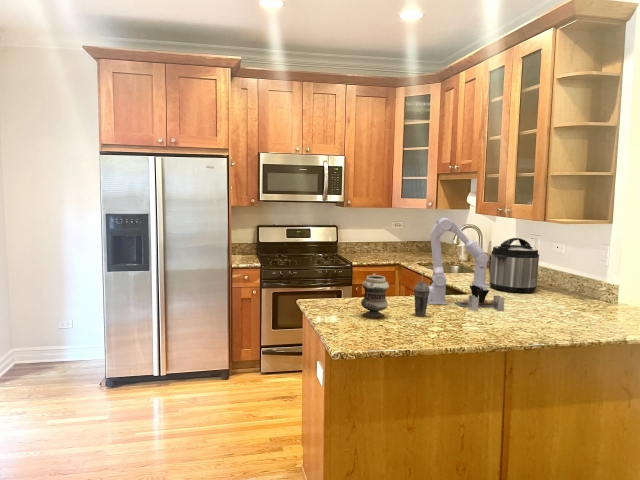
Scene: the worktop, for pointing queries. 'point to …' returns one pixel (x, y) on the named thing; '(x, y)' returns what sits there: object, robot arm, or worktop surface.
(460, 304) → the mat
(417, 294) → the beverage cup
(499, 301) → the hook stands
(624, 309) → the worktop surface
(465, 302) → the rail
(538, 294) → the worktop surface
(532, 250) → the pressure cooker
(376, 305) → the apothecary jar
